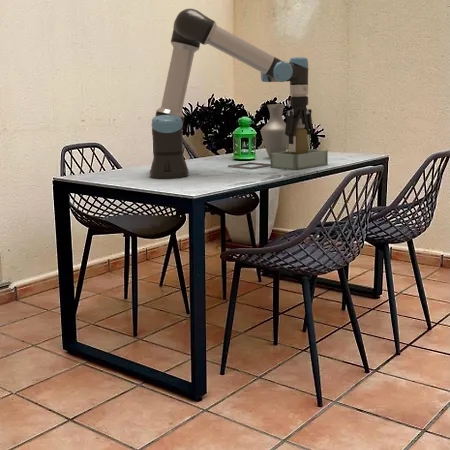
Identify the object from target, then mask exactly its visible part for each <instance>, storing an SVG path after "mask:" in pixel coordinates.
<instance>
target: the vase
mask: <svg viewBox="0 0 450 450" xmlns="http://www.w3.org/2000/svg"><path fill="white" fill-rule="evenodd" d="M285 105H286V104H279V103H277V104H266V106H267V108H268V111H269V115H270V116H269V120H268V122H267V123H265V124H264V126H262V128H261V129H260V135H261V138H262V142H263V144H264V148H265V150H266V151H265V152H266V153H267V155H268V158H269V159H270V153H277V152H284V151H288V149H289V136H287V135H285V128H286V121H284V119H283V111H284V108H285Z"/></svg>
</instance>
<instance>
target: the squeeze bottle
mask: <svg viewBox="0 0 450 450" xmlns="http://www.w3.org/2000/svg"><path fill="white" fill-rule="evenodd" d="M303 128H305V124H302V120H301V118H300V119H299V121H298V123H297V126H296V130H295V134H294V136H296V152H290V153H291V154H292V155H298V154H305V153H308V150H309V149H310V146H309V147H308V137H307V130H306V129H303ZM291 133H292V132H291Z"/></svg>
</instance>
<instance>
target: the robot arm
mask: <svg viewBox="0 0 450 450" xmlns="http://www.w3.org/2000/svg"><path fill="white" fill-rule="evenodd" d="M170 43H171V45H172V47H173V49H172V53H171V57H170V63H169V67H168V72H167V77H166V82H165V86H164V91H163V95H162V101H161V105H160V107H159V108H158V109H156V110H155V111H156V112H155V116H153V117H152V119H151V133H152V151H153V152H152V154H153V159H152V161H151V162H152V163H151V167H150V169H149V177H150V178H153V179H178V178H179V179H180V178H185V177H188V176H189V175H190V174H189V168H188V166H187V161H186V160H185V157H184V141H183V140H184V139H183V124H184V121H185V115H184V113H183V107H184V102H185V97H186V94H187V89H188V84H189V79H190V75H191V71H192V70H191V69H192V66H193V61H194V56H195V53H196V52H197V51H199V50H200V45H201V44H202V45H203V46H206V45H209V46H211V47H213V48H215V49H217V50H218V51H221V52H222V53H224V54H226V55H228V56H230V57H232V58H234V59H236V60H237V61H239V62H241V63H243V64H245V65H247V66H249V67H250V68H253V69H254V70H256V71H258V72H260V79H261V81H262V82H263V83H277V82H278V83H285V82H289V95H290V97H289V105H290V107H291V109H290V110H286V112H285V113H286V114H285V115H286V119H285V120H286V121H285V123H286V128H285V135H287V136H289V145H288V149H289V150H288V151H289V152H296V136H294V134H295V130H296V126H297V123H298V121H299V119H300V118H301V120H302V124H305V128H303V129H306V130H307V137H308V147H309V148H310V145H309V144H310V135H312V133H313V132H314V129H313V118H312V109H310V108H309V109H308V107H307V106H308V105H309V97H308V95H309V70H310V69H309V60H308V57H303V56H301V57H300V56H298V57H297V56H296V57H290V59H289V62H287V61H285V60H281V59H279V58H278V57H276V56H274V55H272V54H270V53H268V52H267V51H265V50H262V49H261V48H259V47H257V46H255V45H254V44H252V43H250V42H248V41H246V40H245V39H242V38H240V37H239V36H236V35H235V34H233V33H231V32H230V31H227V30H226V29H223V28H222V27H221V26H218V25H217V22H216V21H215V20H214V19H211V18H209V17H208V16H206V14H204V13H202V12H201V11H199V10H196V9H194V8H185V9H182V10H181V11H180V12H178V14H177V15H176V17H175V19H174V22H173V31H172V34H171V40H170ZM291 132H292V133H291Z"/></svg>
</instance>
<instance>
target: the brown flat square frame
mask: <svg viewBox="0 0 450 450" xmlns="http://www.w3.org/2000/svg"><path fill="white" fill-rule="evenodd" d="M247 165H256V166H252V167H251V166H247ZM268 166H269V167H271V163H264V162H252V161H249V162H243V163H236V164H231V165H230V164H229V165H227V168H234V169H235V168H236V169H245V170H254V169H255V170H256V169H261V168H262V167H263V168H269V167H268Z"/></svg>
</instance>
